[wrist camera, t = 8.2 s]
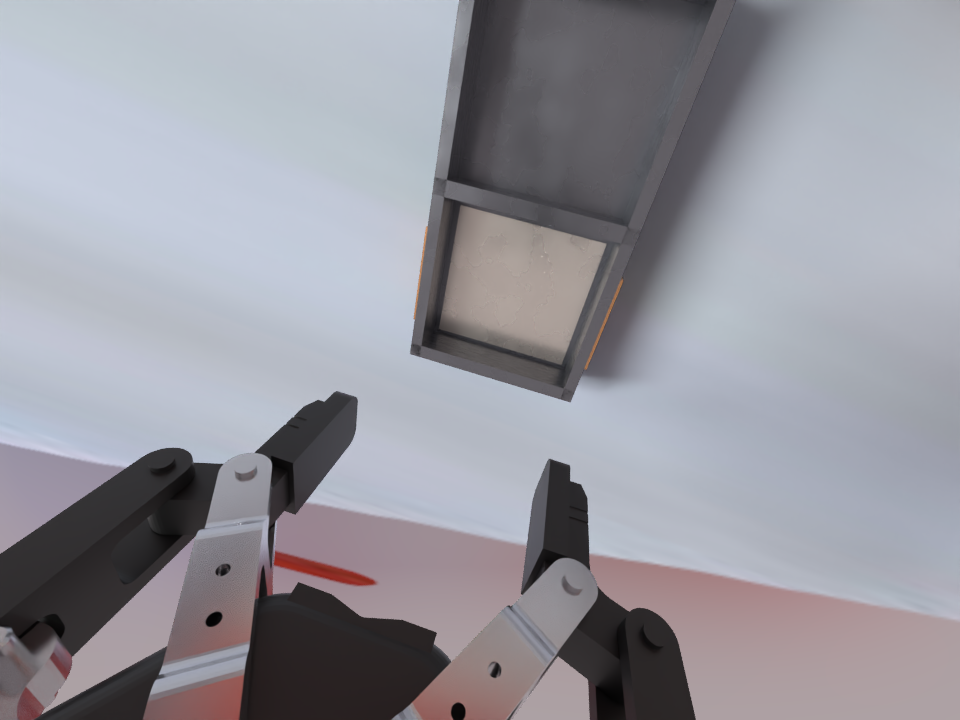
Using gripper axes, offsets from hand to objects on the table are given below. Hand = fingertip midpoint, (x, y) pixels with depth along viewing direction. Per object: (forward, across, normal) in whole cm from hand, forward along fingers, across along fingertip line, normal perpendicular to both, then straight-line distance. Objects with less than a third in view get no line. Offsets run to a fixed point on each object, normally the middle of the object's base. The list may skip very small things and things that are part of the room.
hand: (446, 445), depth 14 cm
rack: (+19, 0, -6) cm, 20 cm away
